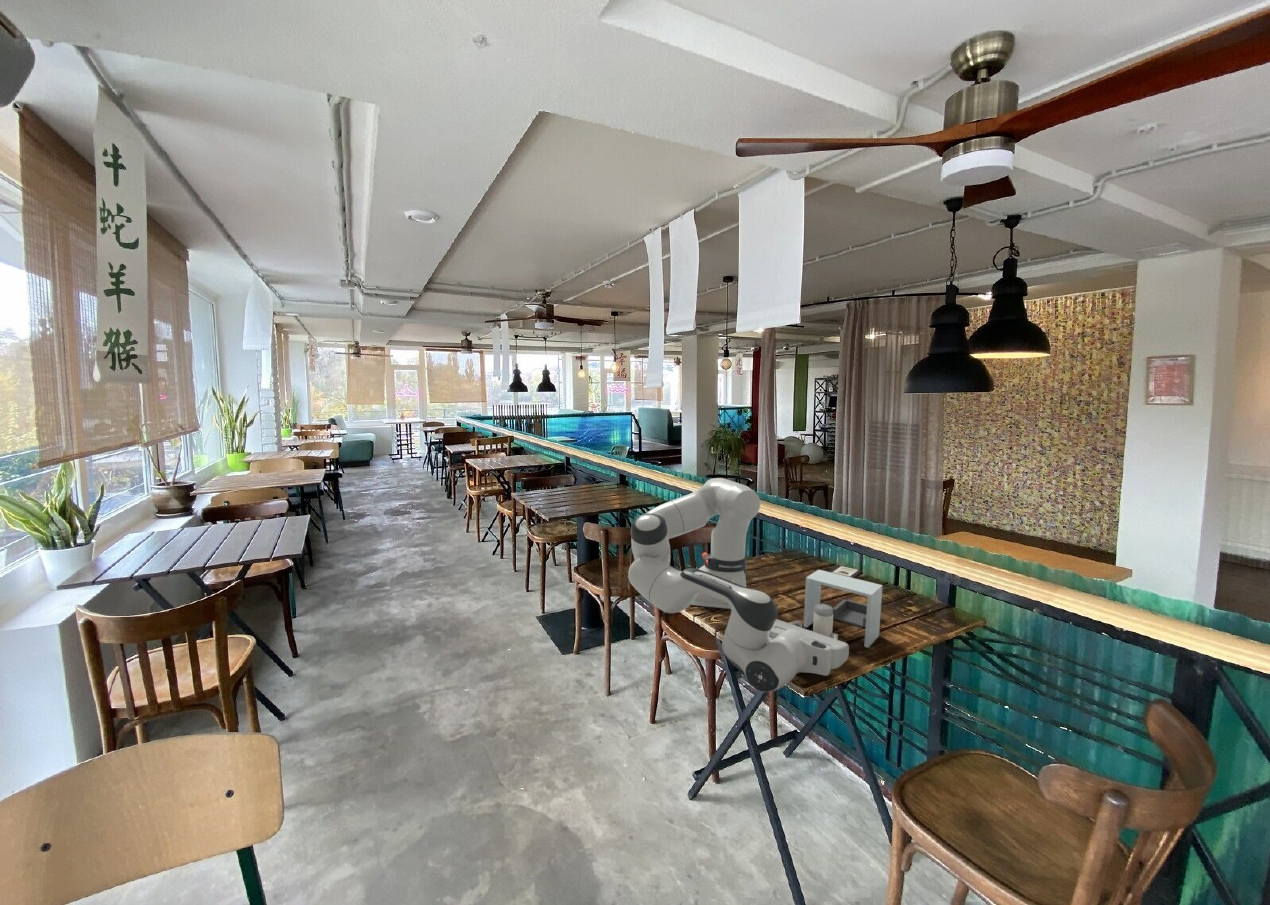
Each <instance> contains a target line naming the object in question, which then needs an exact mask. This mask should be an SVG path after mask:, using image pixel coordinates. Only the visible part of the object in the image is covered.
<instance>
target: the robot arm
mask: <svg viewBox="0 0 1270 905" xmlns="http://www.w3.org/2000/svg"><path fill="white" fill-rule="evenodd" d="M760 509H761V500H760V496H759V495H758V494H757V493H756V492H755V491H754V490H753V489H752V488H750V487H749V486H748V485H745V484H742V483H739V482H736V481H733V480H730V479H727V478H726V477H725V478H723V477H716V478H715V477H714V478H710V479H708V480H707V481H705V482H704V484H703V485H702V486H700V487H699V488H698V489H697V490H695V491H693V492H691V493H689V494H686V495H682V496H680V497H677V498H675V499H671V500H670V501H667V502H665V503H662V504H659V505H658V506H655V507H654V508H651V509H650V510H648V511H646V512H645V513H644V514H640V515H639V516H637V517H636V518H635V519H633V521H632V523H631V527H630V533H629V534H630V537H631V539H630V541H631V543H630V544H631V552H632V554H633V558H634V561H633V562H632V563H631V565H630V566H629V569H628V574H627V576H628V581H629V583H630V584H631V586H632V587H633V588H634V589H635V590H636V591H637V592H638V593H639V594H640V595H641V596H642V597H643V598H644V599H646V600H647V601H648V602H649V603H651V604H652V605H653V606H655V607H656V608H658V609H659V610H660V611H662V612H664V613H667V614H676V613H681V612H682V611H684V610H686V609H687V608H689V607H690V606H698V607H700V606H701V607H707V608H718V609H727V610H731V612H730V616H729V618H728V621H727V622H728V623H727V624H726V628H725V632H724V635H723V639H722V642H721V650H722V654H723V655H724V656H725V658H726V660H728V661H729V663H730V664H732V666H734V667H735V668H736V669H738V670H739V671H741V672H743V673H744V675H745V676H744V677H745V678H746V680H747V682H748V683H749V684H750V685H751V686H752V687H753V688H754V689H756V690H757V691H760V692H763V693H769V692H770V693H771V692H776V691H778V690H780V689H781V688H784V686H786V685H787V684H788V683H789V682H791V681H792V680H793V679H794V678H795V677H796V675H797V674H799V673H806V674H807V673H809V674H816V675H821V676H826V677H827V676H829V675H830V674H831V670H835V669H837V668H840V667H841V666H842V665H844V664H845V663H846V662H847V660H848V659H849V654H850V646H849V644H848V643H847V642H844V641H842V640H838V639H839V634H837V633H835V632H832V634H830V637H827V636H824V635H822V634H819V633H816V632H813V630H809V629H806V628H805V627H803V622H802V621H798V620H795V621H793V622H792V621H791V622H786V621H783V620H780V619H777V618H778V616H779V615H778V614H779V612H778V608H777V606H776V604H775V602H774V600H773V598H772V597H771V596H770V595H769V594H768V593H766V592H764V591H761V590H759V589H755V588H753V587H747V583H746V574H747V573H746V572H747V563H748V562H747V556H746V542H747V532H748V528H749V526H750V523H751V521H752V519H753V518H755V517H756V516H757V515H758V513H759V511H760ZM717 515H718V521H717V524H716V525H715V527H714V528H713V529H712V531H711V538H710V541H711V542H710V553H709V554H708V553H707V552H703V553H702V554H701V555H702V556H701V557H702V559H703V560H704V565H702V566H700V568H692V567H690V568H689V567H688V568H685V569H683V570H682V571H681V570H678V569H676V568H674V567H673V566H672V565H671V564H672V562H671V544H670V541H669V540H670V539H673V538H676V537H679V536H682V535H684V534H688V533H690V532H692V531H695V530H698V529H701V528H703V527H704V526H706V524H707V523H708V521H709V520H710V519H712V518H713V517H715V516H717Z"/></svg>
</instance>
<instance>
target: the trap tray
mask: <svg viewBox="0 0 1270 905" xmlns="http://www.w3.org/2000/svg"><path fill="white" fill-rule="evenodd" d="M832 608H833V620H835V621H840V622H843V623H846V624H850V625H853V626H856V627H859V628H863V629H866V614H867V603H862V602H858V601H854V600H850V599H847V598H844V599H842V600H841V601H840V602H839V603H837V604H836V605H835V606H833V607H832Z"/></svg>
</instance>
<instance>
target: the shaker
mask: <svg viewBox="0 0 1270 905" xmlns="http://www.w3.org/2000/svg"><path fill="white" fill-rule="evenodd" d="M833 608H834V607H832V606H831V605H829V604H825V603H820V604H817V605H815V610H814V620H813V623H812V626H813V627H812V631H813V632H816V633H819V634H822V635H824V636H827V637H830V634H832V633H833V625H834V619H833Z"/></svg>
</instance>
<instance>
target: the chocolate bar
mask: <svg viewBox="0 0 1270 905" xmlns="http://www.w3.org/2000/svg"><path fill="white" fill-rule="evenodd" d="M837 566H840V567H836V566H835V567H833V568H832V569H831V570H828V572H831V573H835V574H839V575H843V576H847V577H851V578H855V579H856V577H857V575H858V574H859V575H860V574H862V573H863V572H862V570H860V569H856V568H851V567H847V566H842V565H837ZM859 575H858V576H859Z"/></svg>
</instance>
